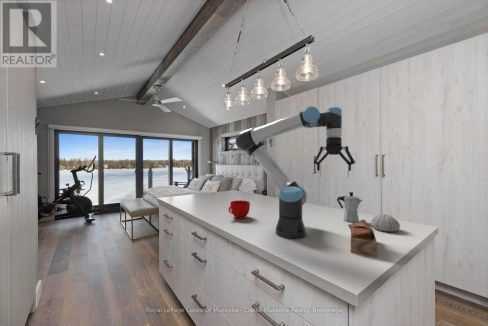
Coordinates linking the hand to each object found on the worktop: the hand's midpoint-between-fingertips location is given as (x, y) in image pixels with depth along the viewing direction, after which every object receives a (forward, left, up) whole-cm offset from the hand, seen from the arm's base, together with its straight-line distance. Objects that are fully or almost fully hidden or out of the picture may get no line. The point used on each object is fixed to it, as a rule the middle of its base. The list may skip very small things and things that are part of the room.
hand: (333, 177), depth 111 cm
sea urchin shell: (+28, +10, -29) cm, 42 cm away
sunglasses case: (+8, -17, -23) cm, 30 cm away
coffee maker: (+13, +23, -29) cm, 39 cm away
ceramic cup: (-56, +11, -29) cm, 64 cm away
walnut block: (+9, -18, -29) cm, 36 cm away
